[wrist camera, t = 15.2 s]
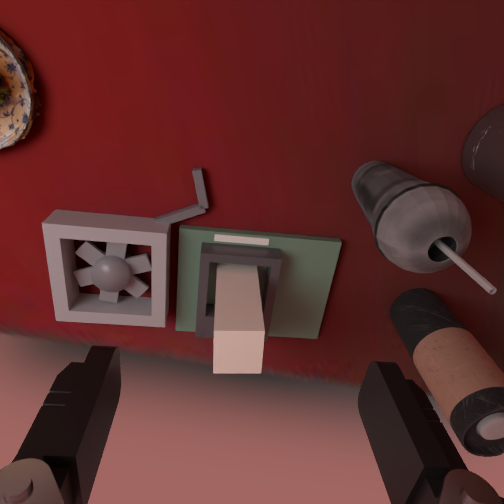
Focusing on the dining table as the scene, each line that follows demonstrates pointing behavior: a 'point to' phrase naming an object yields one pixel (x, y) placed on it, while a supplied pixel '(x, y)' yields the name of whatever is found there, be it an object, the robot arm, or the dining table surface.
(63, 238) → the fan
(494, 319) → the dining table surface
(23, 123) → the burger
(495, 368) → the travel mug
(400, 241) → the beverage cup
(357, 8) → the dining table surface
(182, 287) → the header board
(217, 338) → the plug
